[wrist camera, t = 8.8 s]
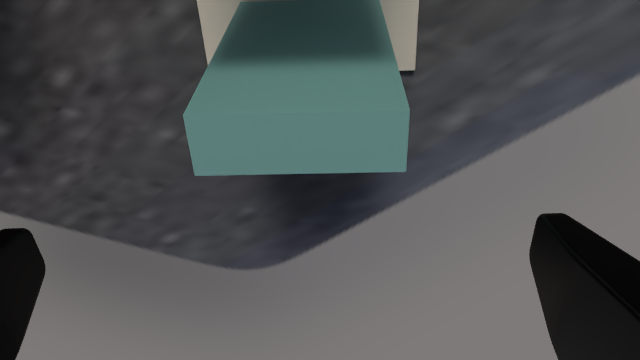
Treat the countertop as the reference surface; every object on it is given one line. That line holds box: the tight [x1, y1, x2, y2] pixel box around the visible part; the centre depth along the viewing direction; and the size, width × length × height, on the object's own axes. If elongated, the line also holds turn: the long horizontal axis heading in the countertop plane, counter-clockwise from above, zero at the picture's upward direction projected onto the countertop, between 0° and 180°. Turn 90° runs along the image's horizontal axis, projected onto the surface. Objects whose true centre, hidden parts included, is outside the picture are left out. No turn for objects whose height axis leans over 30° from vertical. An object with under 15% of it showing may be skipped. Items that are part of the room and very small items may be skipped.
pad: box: [197, 0, 419, 71], centre depth 20 cm, size 8×4×1 cm, turn 93°
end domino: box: [183, 0, 410, 176], centre depth 16 cm, size 2×5×9 cm, turn 92°
